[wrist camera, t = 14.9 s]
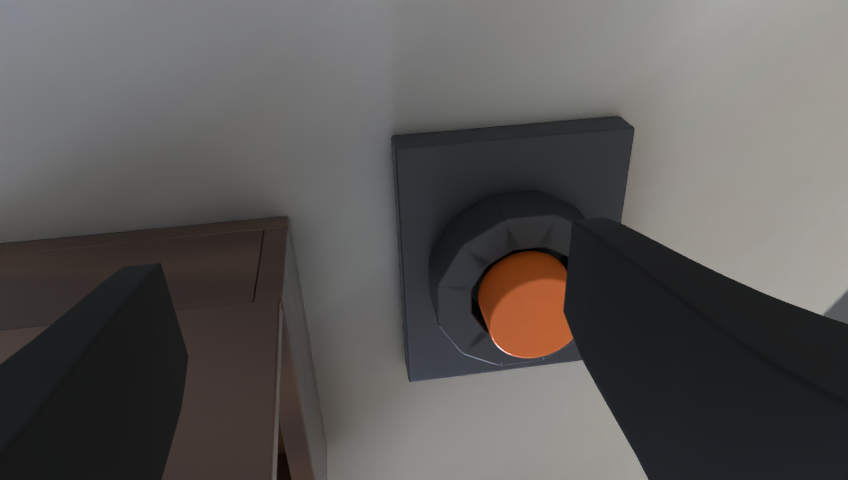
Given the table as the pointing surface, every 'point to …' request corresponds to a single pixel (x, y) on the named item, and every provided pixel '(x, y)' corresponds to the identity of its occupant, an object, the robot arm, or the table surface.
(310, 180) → the table surface
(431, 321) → the panel
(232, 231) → the compartment
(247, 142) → the table surface
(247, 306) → the lid
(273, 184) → the table surface
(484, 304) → the release button
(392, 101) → the table surface
